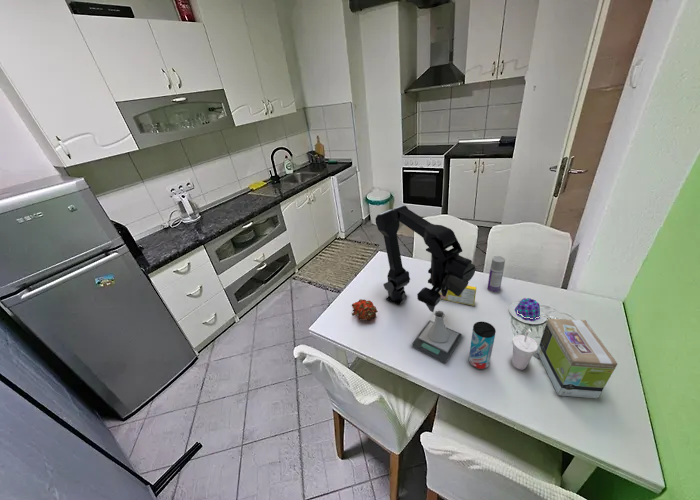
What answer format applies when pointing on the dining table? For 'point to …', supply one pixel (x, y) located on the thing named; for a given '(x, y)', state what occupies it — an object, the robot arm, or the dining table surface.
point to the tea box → (575, 358)
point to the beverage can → (481, 345)
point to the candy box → (461, 296)
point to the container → (496, 274)
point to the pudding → (527, 311)
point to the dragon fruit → (364, 310)
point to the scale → (436, 344)
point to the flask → (438, 329)
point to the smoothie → (523, 350)
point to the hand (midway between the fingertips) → (438, 303)
